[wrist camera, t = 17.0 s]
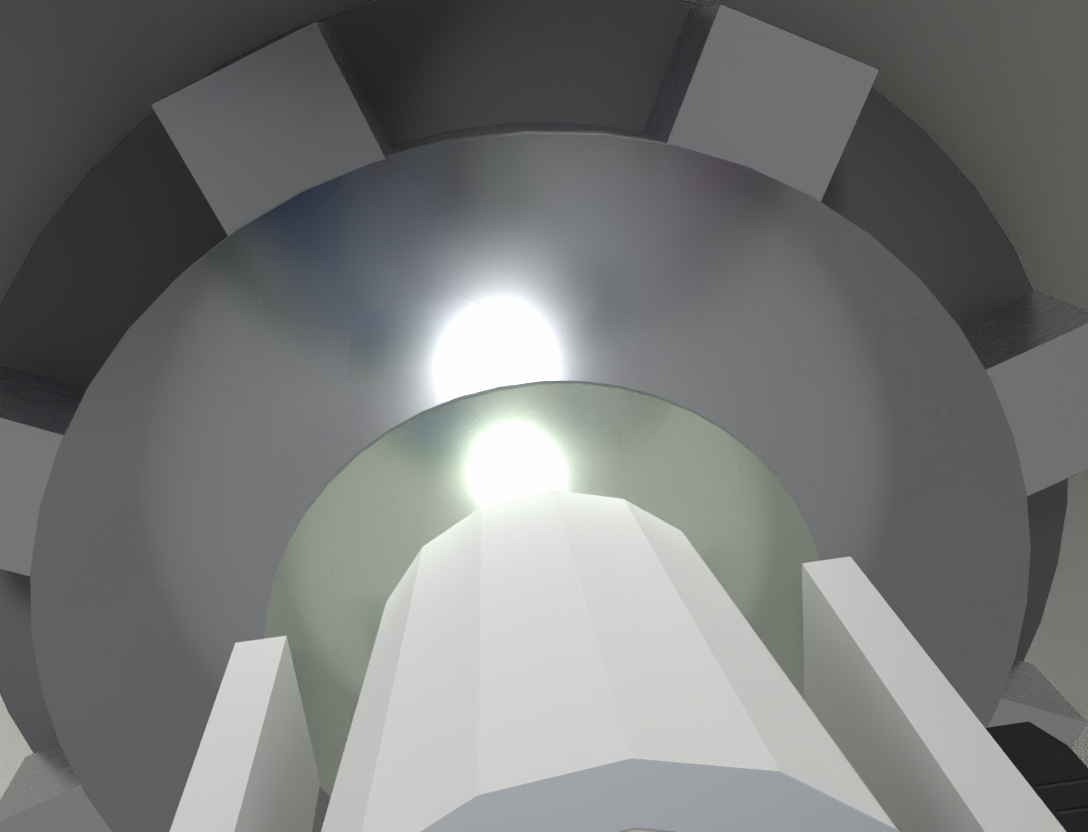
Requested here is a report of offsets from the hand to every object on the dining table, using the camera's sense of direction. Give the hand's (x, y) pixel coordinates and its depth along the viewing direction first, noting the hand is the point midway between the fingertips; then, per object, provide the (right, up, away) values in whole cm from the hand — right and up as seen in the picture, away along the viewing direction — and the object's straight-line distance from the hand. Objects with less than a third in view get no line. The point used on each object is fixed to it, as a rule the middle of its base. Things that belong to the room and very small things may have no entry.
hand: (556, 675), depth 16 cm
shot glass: (0, 0, +1) cm, 1 cm away
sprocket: (0, +1, +3) cm, 3 cm away
